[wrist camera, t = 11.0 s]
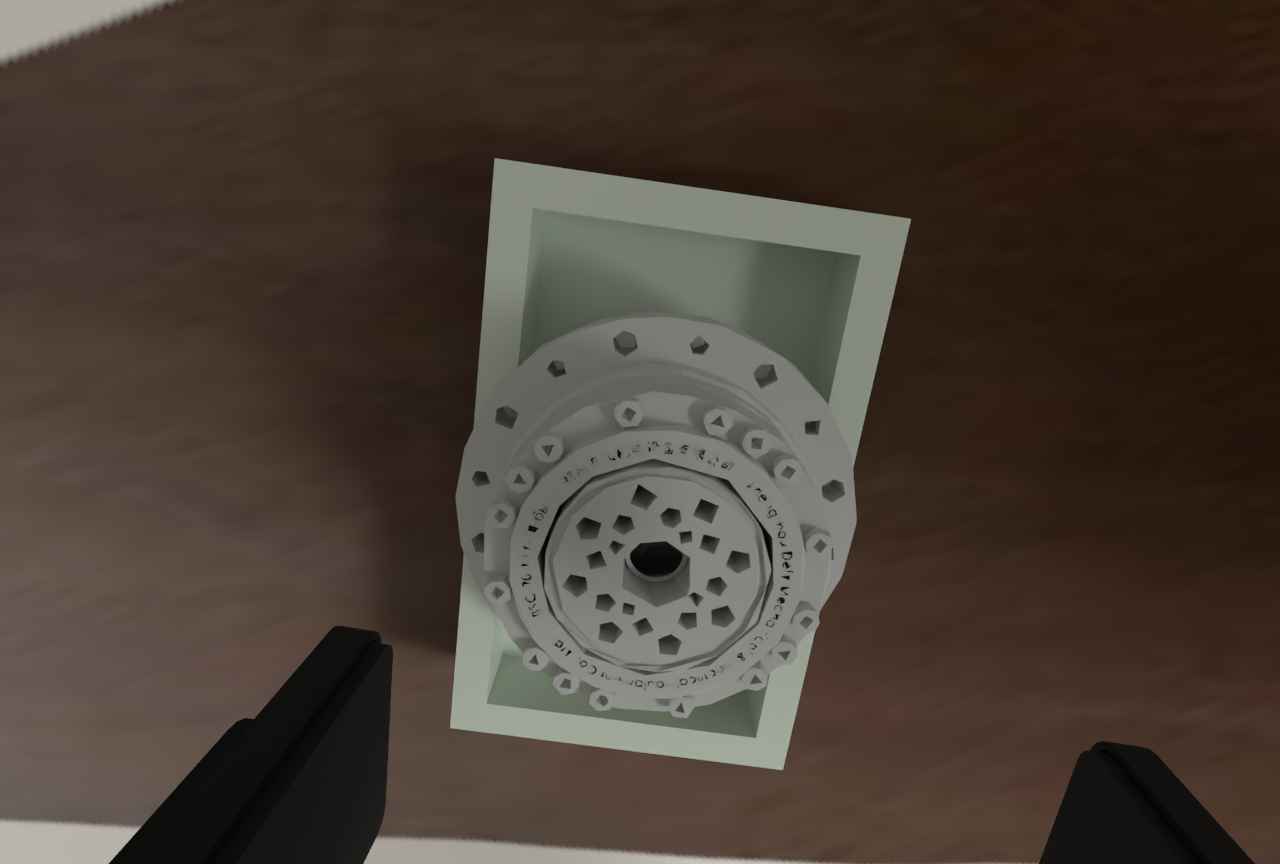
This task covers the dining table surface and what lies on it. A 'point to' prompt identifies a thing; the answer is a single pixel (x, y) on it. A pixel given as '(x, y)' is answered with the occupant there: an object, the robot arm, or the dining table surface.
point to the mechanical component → (656, 511)
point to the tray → (702, 286)
